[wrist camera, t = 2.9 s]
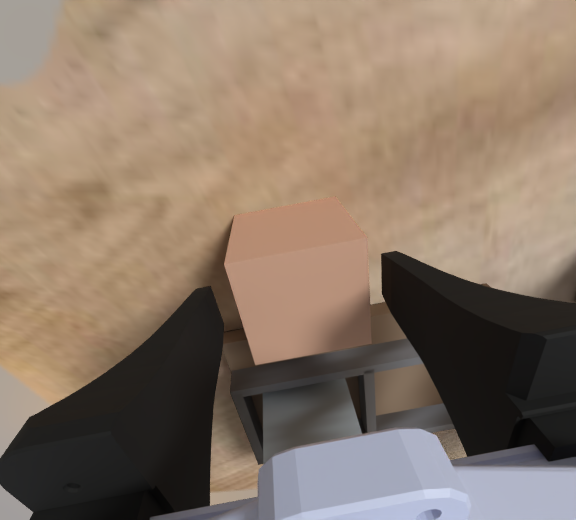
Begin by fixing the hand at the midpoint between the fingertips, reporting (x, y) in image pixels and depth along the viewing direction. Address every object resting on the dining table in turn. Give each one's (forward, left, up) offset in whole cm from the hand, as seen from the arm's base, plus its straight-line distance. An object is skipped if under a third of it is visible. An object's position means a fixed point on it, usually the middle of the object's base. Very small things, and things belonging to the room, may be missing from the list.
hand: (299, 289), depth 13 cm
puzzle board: (-3, +11, -4) cm, 12 cm away
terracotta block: (0, 0, -4) cm, 4 cm away
